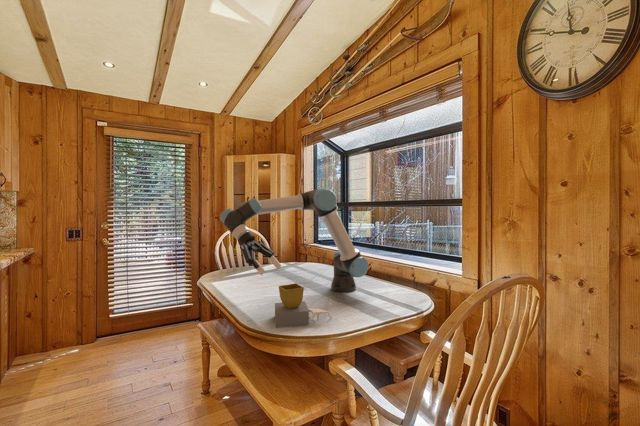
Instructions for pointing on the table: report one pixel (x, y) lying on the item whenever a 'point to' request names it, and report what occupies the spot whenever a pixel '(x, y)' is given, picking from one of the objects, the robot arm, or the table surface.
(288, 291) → the flower pot
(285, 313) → the base block
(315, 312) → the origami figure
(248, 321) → the table surface
